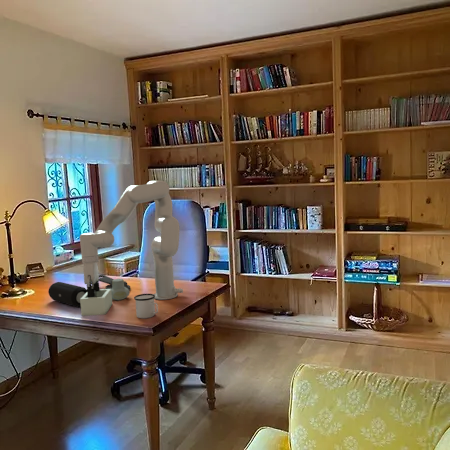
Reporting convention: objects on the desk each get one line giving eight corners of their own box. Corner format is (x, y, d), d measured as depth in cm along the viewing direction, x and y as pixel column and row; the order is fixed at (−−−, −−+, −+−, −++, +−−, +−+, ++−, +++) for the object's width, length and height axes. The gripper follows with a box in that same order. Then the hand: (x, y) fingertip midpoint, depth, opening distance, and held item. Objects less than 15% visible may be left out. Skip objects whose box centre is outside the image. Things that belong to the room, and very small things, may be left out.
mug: (130, 317, 214) (129, 297, 213) (145, 311, 222) (144, 292, 221) (150, 321, 207) (149, 300, 206) (165, 314, 215) (163, 295, 214)
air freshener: (128, 295, 252) (127, 277, 250) (131, 299, 244) (129, 280, 242) (107, 298, 248) (106, 279, 247) (109, 302, 240) (107, 283, 239)
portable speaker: (47, 302, 246) (45, 283, 245) (65, 297, 254) (63, 279, 253) (74, 310, 230) (73, 290, 229) (92, 305, 237) (90, 285, 236)
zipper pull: (102, 273, 277) (132, 278, 263) (103, 284, 278) (133, 289, 264) (89, 277, 270) (120, 281, 255) (90, 288, 271) (120, 293, 256)
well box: (112, 304, 236) (111, 288, 235) (105, 314, 220) (104, 297, 219) (90, 305, 236) (88, 290, 235) (81, 315, 220) (80, 299, 219)
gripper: (87, 256, 233) (90, 289, 236) (77, 263, 216) (81, 299, 218) (102, 255, 233) (105, 288, 236) (93, 262, 216) (97, 298, 219)
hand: (93, 294), depth 227 cm, fingers open, 9 cm apart
